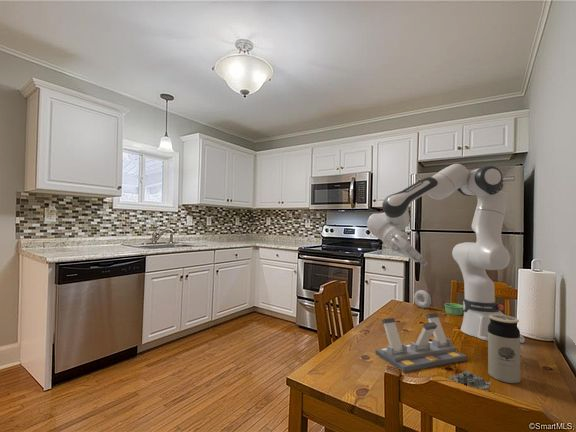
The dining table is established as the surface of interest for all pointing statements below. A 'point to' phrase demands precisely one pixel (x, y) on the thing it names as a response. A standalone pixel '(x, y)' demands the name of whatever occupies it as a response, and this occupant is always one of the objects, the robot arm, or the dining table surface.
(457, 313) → the ramekin
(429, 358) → the switch panel
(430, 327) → the lever middle
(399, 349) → the lever outer
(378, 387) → the dining table surface
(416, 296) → the donut
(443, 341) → the lever inner
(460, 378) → the egg carton
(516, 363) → the travel mug
